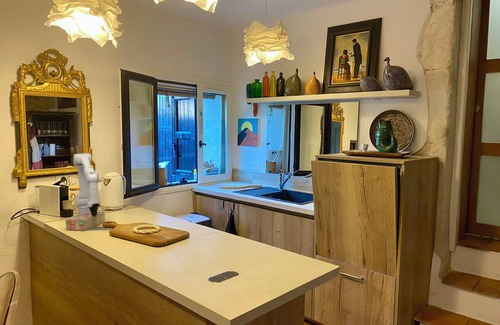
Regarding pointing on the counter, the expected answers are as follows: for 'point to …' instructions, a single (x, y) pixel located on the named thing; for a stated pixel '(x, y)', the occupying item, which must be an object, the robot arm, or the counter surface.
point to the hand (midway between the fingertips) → (94, 216)
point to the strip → (96, 228)
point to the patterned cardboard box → (84, 221)
